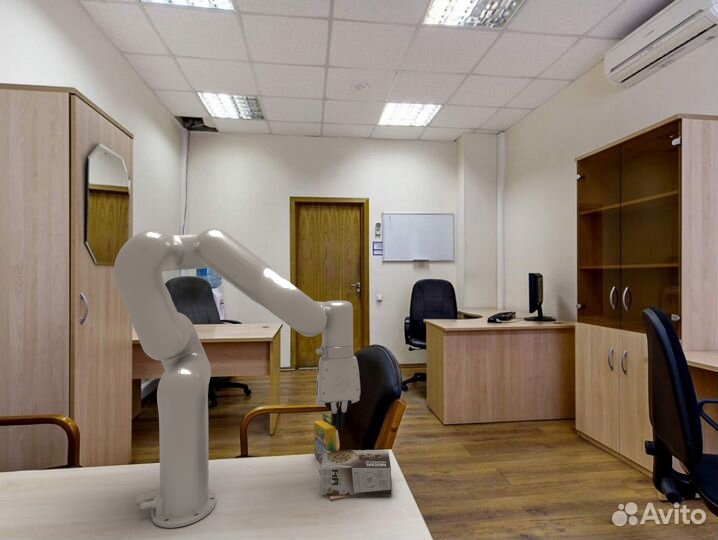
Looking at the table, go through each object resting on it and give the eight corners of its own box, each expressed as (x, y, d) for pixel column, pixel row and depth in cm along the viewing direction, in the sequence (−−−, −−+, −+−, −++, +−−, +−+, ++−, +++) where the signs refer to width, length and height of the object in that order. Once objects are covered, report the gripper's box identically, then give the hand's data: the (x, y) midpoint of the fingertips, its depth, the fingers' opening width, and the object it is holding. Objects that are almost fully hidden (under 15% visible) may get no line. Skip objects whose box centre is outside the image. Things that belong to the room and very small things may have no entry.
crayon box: (314, 457, 102) (313, 414, 103) (323, 455, 104) (323, 412, 105) (326, 467, 96) (326, 421, 97) (336, 464, 98) (336, 419, 98)
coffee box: (319, 496, 84) (391, 497, 84) (319, 467, 84) (391, 467, 84) (324, 475, 93) (389, 475, 93) (324, 448, 93) (389, 449, 93)
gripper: (309, 357, 85) (310, 438, 85) (371, 352, 89) (372, 429, 89) (304, 350, 92) (304, 425, 92) (362, 346, 97) (362, 417, 97)
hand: (338, 427), depth 91 cm, fingers closed
